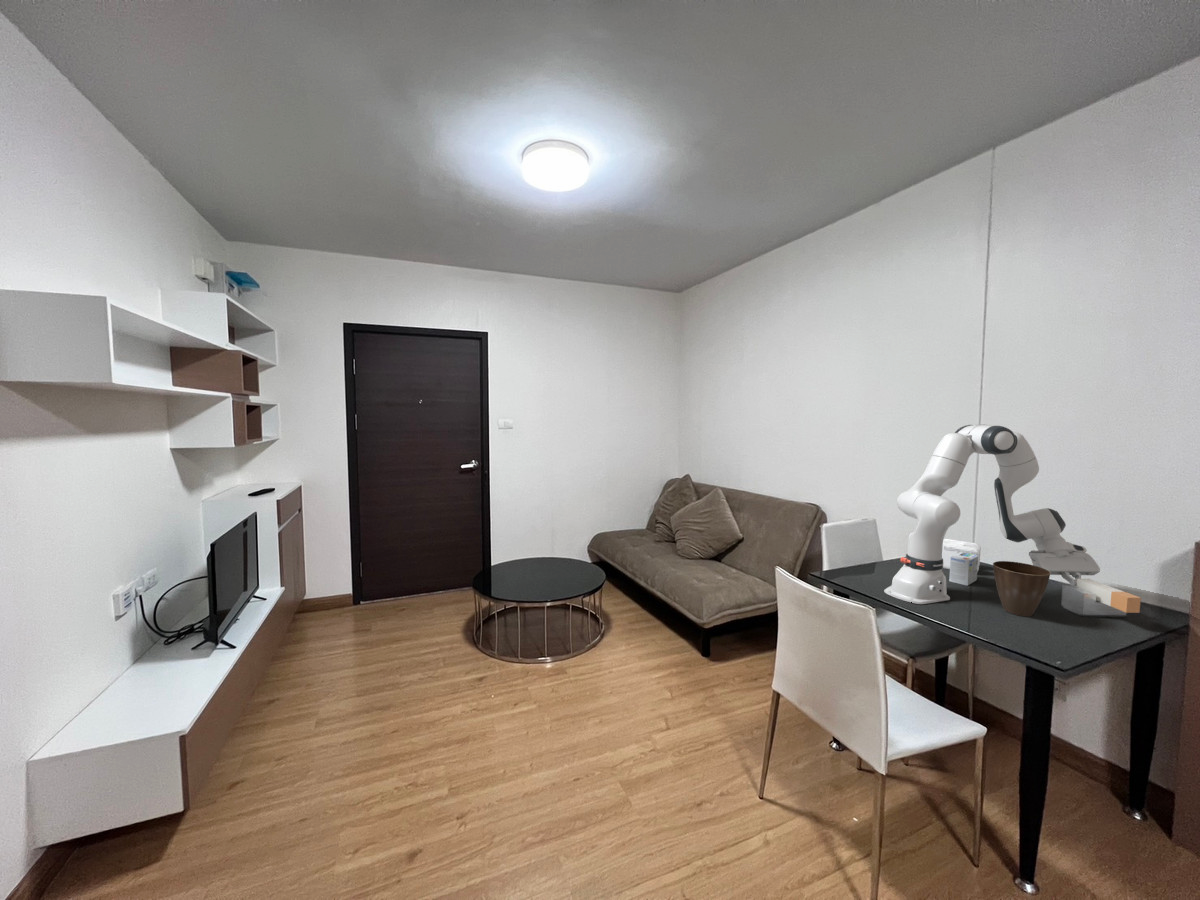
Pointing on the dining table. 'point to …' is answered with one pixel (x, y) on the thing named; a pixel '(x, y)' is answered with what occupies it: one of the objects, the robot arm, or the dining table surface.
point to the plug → (1111, 596)
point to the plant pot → (1020, 586)
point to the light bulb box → (963, 568)
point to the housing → (1086, 603)
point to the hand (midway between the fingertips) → (1077, 585)
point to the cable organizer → (958, 550)
